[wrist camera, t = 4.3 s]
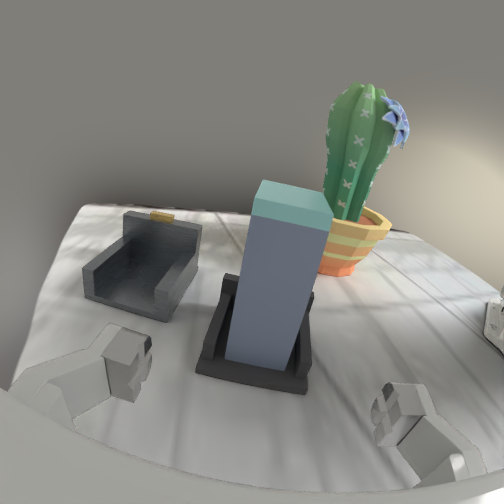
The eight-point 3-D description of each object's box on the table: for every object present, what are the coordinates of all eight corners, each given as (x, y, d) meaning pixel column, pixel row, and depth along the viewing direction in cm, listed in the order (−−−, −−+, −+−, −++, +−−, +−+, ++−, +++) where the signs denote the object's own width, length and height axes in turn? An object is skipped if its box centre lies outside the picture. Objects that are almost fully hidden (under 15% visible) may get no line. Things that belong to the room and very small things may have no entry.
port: (167, 322, 25) (170, 256, 23) (85, 297, 25) (80, 235, 23) (197, 270, 34) (204, 218, 32) (130, 254, 35) (132, 204, 32)
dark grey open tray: (305, 394, 20) (320, 360, 19) (195, 372, 21) (199, 335, 19) (303, 323, 29) (313, 291, 27) (220, 306, 29) (225, 272, 27)
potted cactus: (292, 288, 35) (346, 61, 25) (259, 235, 48) (292, 73, 38) (394, 289, 39) (448, 109, 29) (344, 243, 52) (379, 102, 42)
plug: (284, 371, 22) (333, 215, 17) (224, 359, 22) (254, 197, 17) (286, 324, 27) (322, 192, 22) (236, 314, 27) (263, 179, 22)
